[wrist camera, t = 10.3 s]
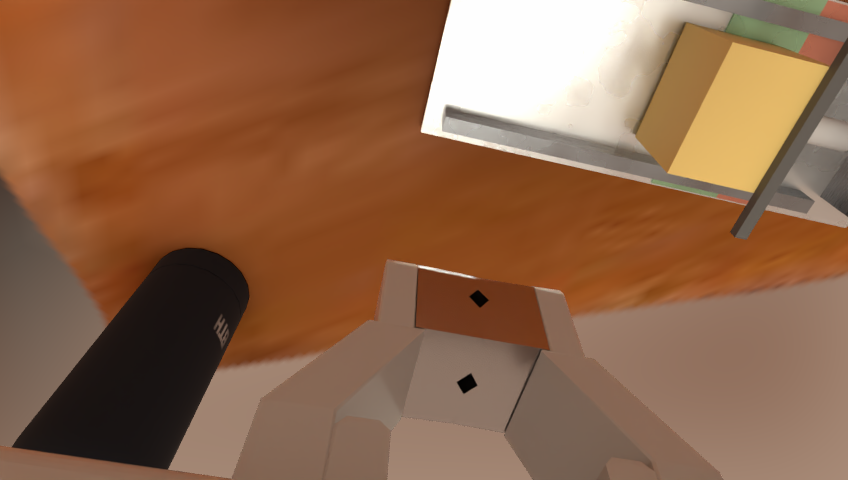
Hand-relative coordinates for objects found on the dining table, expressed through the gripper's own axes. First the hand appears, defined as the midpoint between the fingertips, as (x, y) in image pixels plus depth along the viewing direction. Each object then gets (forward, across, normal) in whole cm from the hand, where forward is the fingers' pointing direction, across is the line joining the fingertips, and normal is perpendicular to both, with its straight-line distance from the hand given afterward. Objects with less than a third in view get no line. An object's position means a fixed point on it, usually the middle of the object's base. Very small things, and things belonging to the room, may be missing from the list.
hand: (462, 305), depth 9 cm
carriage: (+21, -16, 0) cm, 26 cm away
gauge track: (+22, -13, 0) cm, 26 cm away
